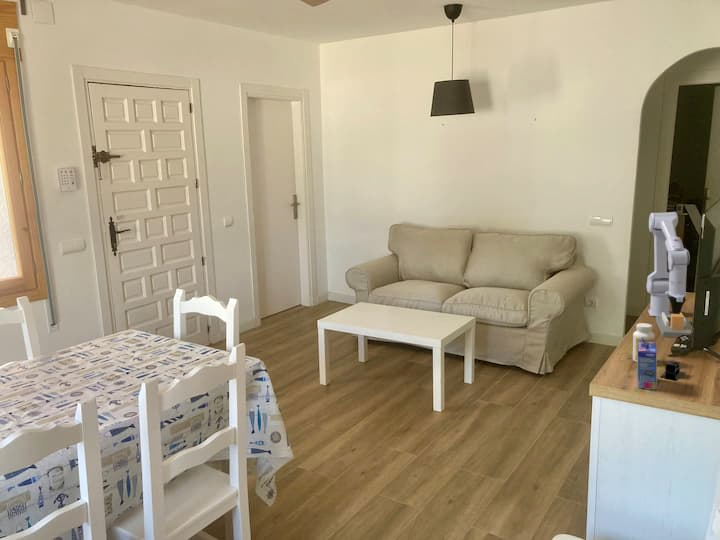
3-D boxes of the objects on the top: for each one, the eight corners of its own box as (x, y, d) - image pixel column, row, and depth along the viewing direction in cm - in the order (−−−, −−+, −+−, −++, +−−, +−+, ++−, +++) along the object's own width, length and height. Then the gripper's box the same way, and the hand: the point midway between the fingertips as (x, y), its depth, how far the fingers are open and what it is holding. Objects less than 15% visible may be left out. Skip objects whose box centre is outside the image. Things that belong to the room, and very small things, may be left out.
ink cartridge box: (636, 376, 183) (637, 333, 180) (655, 378, 180) (657, 334, 178) (636, 388, 174) (637, 343, 171) (657, 390, 172) (658, 344, 169)
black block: (677, 385, 176) (678, 371, 175) (652, 379, 181) (653, 366, 180) (690, 373, 184) (691, 359, 183) (666, 368, 189) (667, 355, 188)
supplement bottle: (657, 364, 192) (659, 327, 189) (637, 365, 192) (638, 328, 189) (648, 357, 198) (649, 321, 196) (629, 358, 198) (629, 322, 196)
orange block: (670, 326, 223) (671, 313, 222) (682, 326, 222) (682, 314, 221) (671, 329, 220) (672, 316, 219) (683, 329, 218) (684, 316, 217)
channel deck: (655, 320, 237) (656, 311, 237) (685, 321, 234) (686, 312, 233) (663, 337, 217) (663, 327, 217) (696, 338, 213) (696, 328, 213)
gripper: (663, 277, 228) (662, 309, 231) (668, 285, 215) (667, 320, 218) (683, 277, 226) (681, 310, 228) (689, 285, 213) (688, 320, 215)
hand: (676, 315), depth 223 cm, fingers closed
